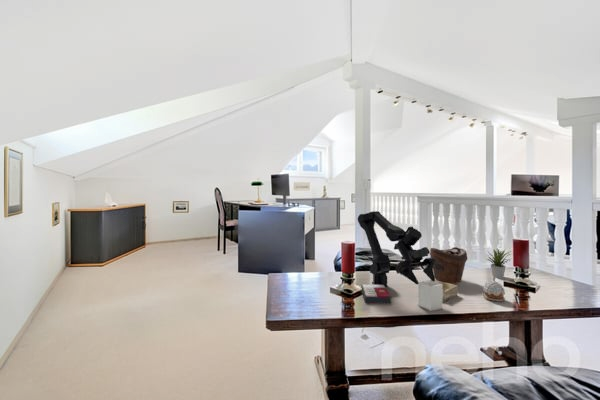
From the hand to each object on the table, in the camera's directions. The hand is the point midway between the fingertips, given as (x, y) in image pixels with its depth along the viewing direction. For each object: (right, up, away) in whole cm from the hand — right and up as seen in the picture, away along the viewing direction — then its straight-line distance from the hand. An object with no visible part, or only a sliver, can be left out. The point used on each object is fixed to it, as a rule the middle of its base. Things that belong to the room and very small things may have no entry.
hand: (426, 282), depth 128 cm
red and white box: (-19, -10, +11) cm, 24 cm away
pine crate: (+11, -9, +13) cm, 19 cm away
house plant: (+58, -8, +40) cm, 71 cm away
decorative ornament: (+33, -9, +7) cm, 35 cm away
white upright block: (+1, -10, -2) cm, 10 cm away
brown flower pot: (+27, -9, +36) cm, 46 cm away
